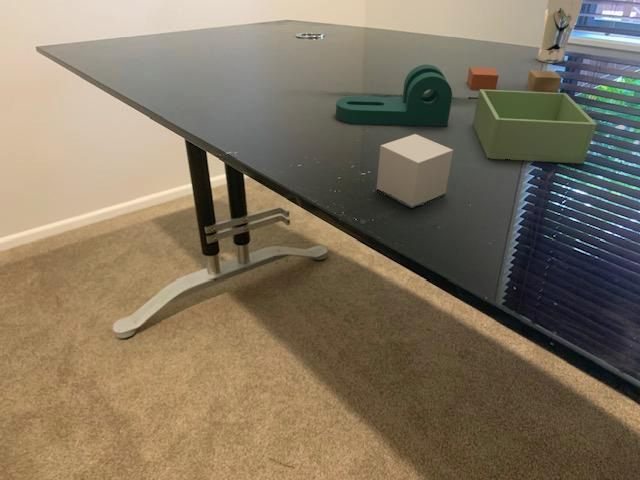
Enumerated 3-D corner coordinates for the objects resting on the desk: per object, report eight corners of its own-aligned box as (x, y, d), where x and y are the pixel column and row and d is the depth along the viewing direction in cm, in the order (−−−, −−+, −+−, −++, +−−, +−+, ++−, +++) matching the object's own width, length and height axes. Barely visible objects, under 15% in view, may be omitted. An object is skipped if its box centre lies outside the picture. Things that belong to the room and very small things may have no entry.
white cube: (445, 195, 62) (453, 149, 59) (411, 210, 59) (418, 163, 56) (409, 177, 66) (415, 133, 63) (376, 190, 63) (380, 145, 59)
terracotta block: (489, 92, 96) (494, 68, 94) (493, 100, 92) (498, 75, 90) (465, 91, 96) (469, 67, 94) (468, 98, 93) (473, 74, 90)
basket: (555, 128, 81) (566, 93, 78) (583, 164, 70) (597, 124, 67) (472, 124, 82) (479, 89, 79) (487, 158, 71) (496, 119, 68)
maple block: (548, 95, 95) (554, 71, 93) (554, 102, 92) (562, 78, 89) (523, 94, 96) (529, 69, 93) (529, 101, 92) (536, 76, 89)
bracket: (440, 111, 87) (447, 65, 82) (447, 126, 81) (455, 77, 77) (336, 108, 87) (337, 62, 83) (335, 123, 81) (337, 73, 77)
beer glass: (566, 65, 113) (587, -9, 105) (533, 62, 115) (551, -11, 107) (565, 58, 119) (585, -13, 110) (534, 55, 121) (551, -15, 112)
